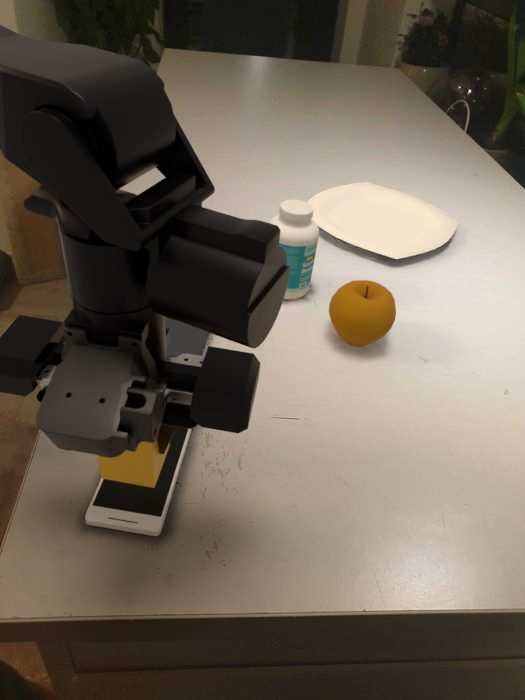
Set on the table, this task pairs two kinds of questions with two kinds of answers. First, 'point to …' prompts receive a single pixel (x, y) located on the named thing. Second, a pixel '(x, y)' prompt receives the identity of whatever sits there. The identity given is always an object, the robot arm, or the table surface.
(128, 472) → the block
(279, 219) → the pill bottle
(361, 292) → the apple
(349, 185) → the plate
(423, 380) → the table surface
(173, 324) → the mat
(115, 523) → the smartphone
